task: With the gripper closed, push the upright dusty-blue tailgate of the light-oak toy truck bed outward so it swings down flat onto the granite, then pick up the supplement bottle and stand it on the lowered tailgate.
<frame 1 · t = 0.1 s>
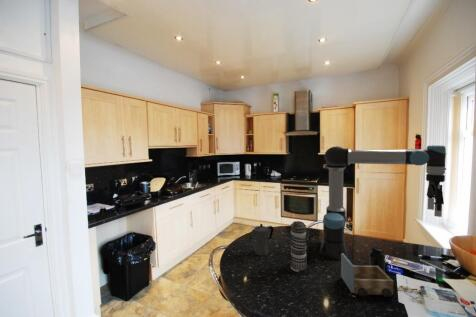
hand: (434, 212, 120), 28 cm above the counter, fingers open, 13 cm apart
decorative candle: (298, 268, 120), on the counter
coffeepot: (263, 252, 138), on the counter
truck bed: (366, 287, 102), on the counter
supplement bottle: (377, 270, 116), on the counter
tailgate: (347, 271, 103), point 7 cm above the counter, hinge at 0.0°
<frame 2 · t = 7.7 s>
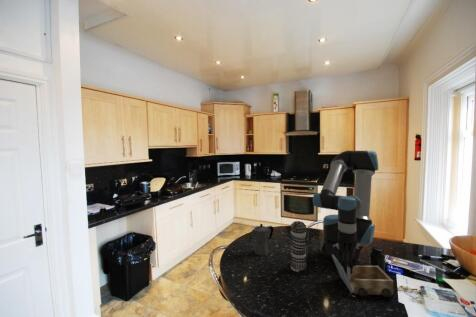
hand: (347, 279, 103), 3 cm above the counter, fingers closed
tailgate: (341, 272, 103), point 7 cm above the counter, hinge at 21.9°, touching gripper
everything else where it was.
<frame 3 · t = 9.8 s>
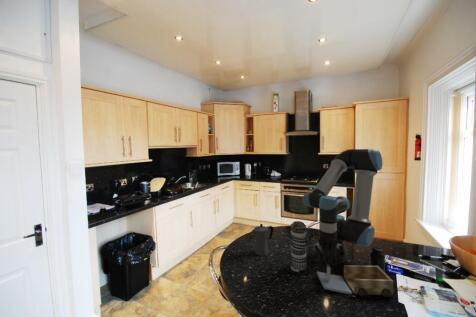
hand: (327, 279, 103), 3 cm above the counter, fingers closed
tailgate: (333, 282, 103), point 2 cm above the counter, hinge at 78.6°
everything else where it was.
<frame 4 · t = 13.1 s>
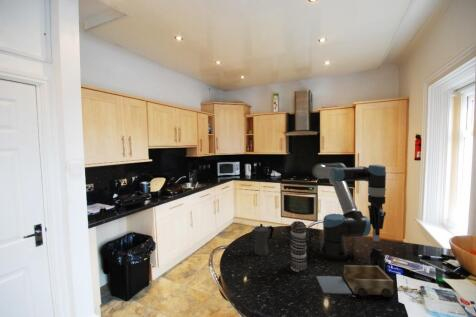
hand: (376, 240, 114), 17 cm above the counter, fingers closed
tailgate: (332, 285, 104), point 1 cm above the counter, hinge at 90.1°
everything else where it was.
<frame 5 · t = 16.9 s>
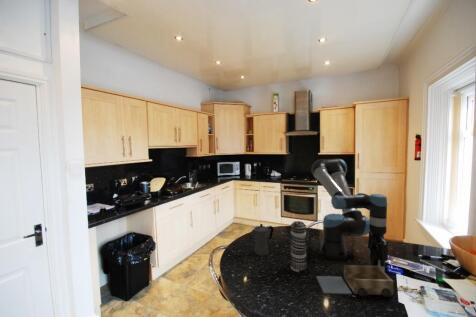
hand: (377, 267, 116), 2 cm above the counter, fingers closed on supplement bottle, 7 cm apart
supplement bottle: (377, 270, 116), on the counter, touching gripper
everything else where it was.
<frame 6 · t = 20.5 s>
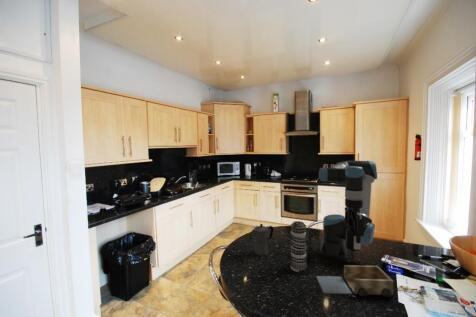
hand: (353, 245, 107), 17 cm above the counter, fingers closed on supplement bottle, 7 cm apart
supplement bottle: (353, 248, 107), point 16 cm above the counter, touching gripper
everything else where it was.
when the fingers open (3 cm above the counter, at t = 24.3 s): supplement bottle stays where it is, resting on tailgate.
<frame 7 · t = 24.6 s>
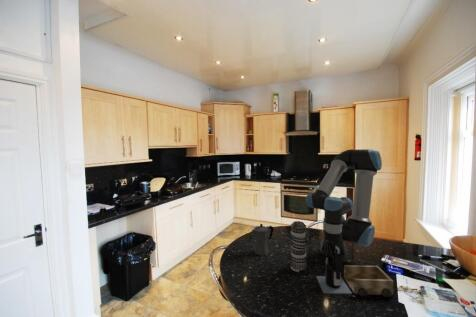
hand: (332, 277, 103), 4 cm above the counter, fingers open, 10 cm apart
supplement bottle: (333, 284, 103), point 1 cm above the counter, touching tailgate
tailgate: (332, 285, 104), point 1 cm above the counter, hinge at 90.1°, touching supplement bottle
everything else where it was.
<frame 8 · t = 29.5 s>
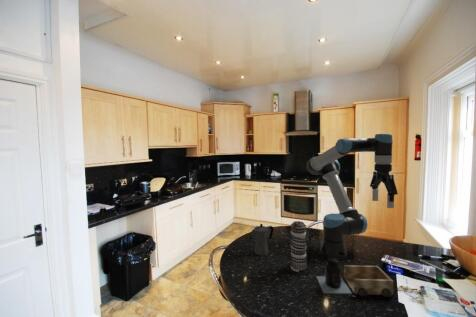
hand: (382, 204, 115), 35 cm above the counter, fingers open, 13 cm apart
nothing on the counter moved.
at the end: tailgate at +90° (first picture: +0°); supplement bottle tilted 0° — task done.
